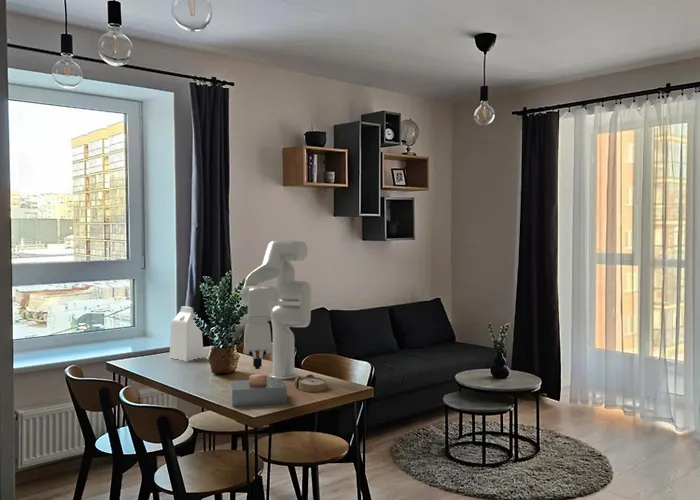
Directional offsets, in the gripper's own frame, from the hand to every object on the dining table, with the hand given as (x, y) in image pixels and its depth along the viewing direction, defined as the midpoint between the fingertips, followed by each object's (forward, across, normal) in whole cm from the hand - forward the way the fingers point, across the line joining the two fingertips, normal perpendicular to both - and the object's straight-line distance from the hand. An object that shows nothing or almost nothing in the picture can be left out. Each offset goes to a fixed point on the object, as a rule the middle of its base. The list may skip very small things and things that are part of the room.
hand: (257, 368), depth 245 cm
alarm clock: (+12, -23, -15) cm, 30 cm away
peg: (+12, 0, 0) cm, 12 cm away
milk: (+11, +27, -88) cm, 93 cm away
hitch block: (+12, 0, 0) cm, 12 cm away
